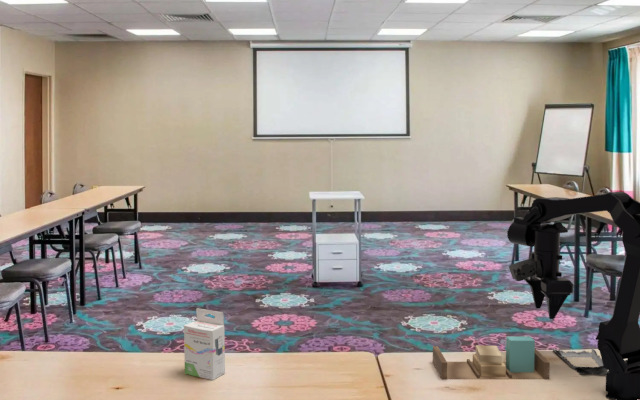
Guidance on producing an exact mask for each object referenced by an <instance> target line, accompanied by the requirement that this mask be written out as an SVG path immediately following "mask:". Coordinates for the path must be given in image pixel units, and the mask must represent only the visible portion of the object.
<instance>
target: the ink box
mask: <svg viewBox="0 0 640 400" xmlns="http://www.w3.org/2000/svg"><path fill="white" fill-rule="evenodd" d="M195 311H196V312H195V313H196V320H195V321H191V322H189V323H186V324H184V325H183V332H184V333H183V341H184V346H183V349H184V353H183V354H184V374H185V375H188V376H193V377H197V378H202V379H206V380H211V381H215V380H216V379H217V378H219V377H220V376H223V375H224V374H225V373H226V357H225V356H226V355H225V353H226V352H225V350H226V349H225V341H226V340H225V321H224V320H225V319H224V318H225V317H224V313H223V311H216V310H211V309H206V308H205V309H204V308H199V307H197V308H196V309H195ZM209 314H210V315H211V316H214V317H209V316H207V315H209Z"/></svg>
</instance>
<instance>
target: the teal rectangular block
mask: <svg viewBox="0 0 640 400" xmlns="http://www.w3.org/2000/svg"><path fill="white" fill-rule="evenodd" d="M505 337H506V338H505V340H506V341H505V342H506V343H505V362H506V368H507V369H508V370H509V371H510V372H534V353H535V349H536V348H535V347H536V346H535V345H536V340H535V339H534V338H533V337H532V336H531V335H530V336H527V335H526V336H524V335H523V336H511V335H510V336H505Z"/></svg>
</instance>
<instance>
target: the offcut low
mask: <svg viewBox="0 0 640 400" xmlns="http://www.w3.org/2000/svg"><path fill="white" fill-rule="evenodd" d="M472 362H473V365H474V367H475V368H476V370H477V371H478V373H479V374H480V375H481V377H506V366H505V364H504V363H503V362H504V361H502V365H480V364H479V361H478V359H477V357H476V353H473V354H472Z"/></svg>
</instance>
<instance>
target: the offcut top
mask: <svg viewBox="0 0 640 400" xmlns="http://www.w3.org/2000/svg"><path fill="white" fill-rule="evenodd" d="M475 354H476V357H477V359H478V361H479V364H480V365H502V362H503V360H502V359H503V356H502V354H501V351H500V350H499V348H498V346H497V345H483V344H482V345H479V344H478V345H477V344H476V345H475Z"/></svg>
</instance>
